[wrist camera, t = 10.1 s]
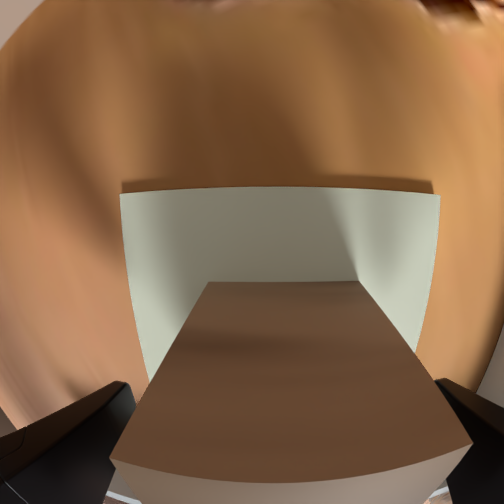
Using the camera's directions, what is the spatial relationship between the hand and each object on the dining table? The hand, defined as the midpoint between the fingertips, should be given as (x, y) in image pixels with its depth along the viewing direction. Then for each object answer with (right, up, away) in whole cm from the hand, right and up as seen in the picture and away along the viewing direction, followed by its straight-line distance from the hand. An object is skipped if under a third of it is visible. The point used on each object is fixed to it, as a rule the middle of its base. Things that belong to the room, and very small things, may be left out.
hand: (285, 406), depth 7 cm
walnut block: (0, +1, +3) cm, 3 cm away
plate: (0, +1, +3) cm, 4 cm away
